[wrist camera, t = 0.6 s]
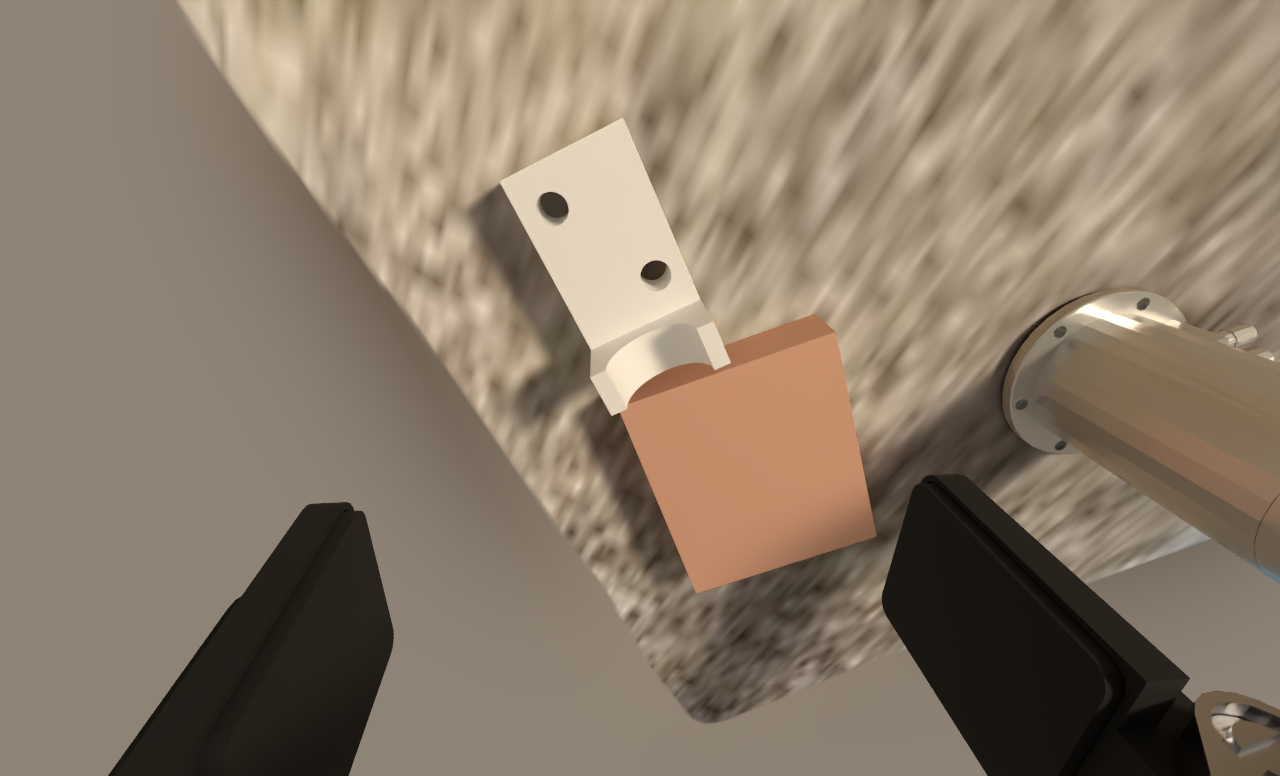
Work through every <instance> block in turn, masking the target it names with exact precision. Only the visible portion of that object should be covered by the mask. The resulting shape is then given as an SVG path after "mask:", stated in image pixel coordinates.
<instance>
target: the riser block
mask: <svg viewBox="0 0 1280 776" xmlns="http://www.w3.org/2000/svg"><path fill="white" fill-rule="evenodd" d="M724 347H725V350H726V352H727V354H728V357H729V359H730V362H731V363H730V364H728V365H725V366H723V367H721V368H718V369H716V370H714V368H713V367H712V366H710V365H708V364H704V363H689V364H684V365H680V366H676V367H673V368H671V369H668V370H666V371H664V372H661V373H660V374H658V375H656V376H654V377H653V378H651V379H649V380H648V381H647V382H645V383H644V384H643V385H641V386H640V387H639V388H638V389H637V390H636V391H635V392H634V394H633V395H632V396H631V398H630V400H629V402H628V405H627V409H626V410H624V411H622V412H620V414H621V416H622V419H623V421H624V424H625V426H626V428H627V431H628V433H629V435H630V438H631V440H632V443H633V445H634V447H635V450H636V452H637V454H638V457H639V459H640V461H641V464H642V466H643V469H644V471H645V473H646V476H647V478H648V480H649V483H650V485H651V488H652V490H653V492H654V495H655V497H656V499H657V502H658V504H659V507H660V509H661V511H662V514H663V516H664V518H665V521H666V523H667V525H668V528H669V530H670V533H671V535H672V537H673V540H674V542H675V544H676V547H677V549H678V552H679V554H680V556H681V559H682V561H683V563H684V566H685V568H686V571H687V573H688V575H689V578H690V580H691V582H692V585H693V587H694V590H695V592H696V594H697V593H700V592H703V591H706V590H709V589H712V588H716V587H719V586H722V585H725V584H728V583H731V582H735V581H738V580H741V579H744V578H747V577H750V576H754V575H757V574H760V573H763V572H766V571H769V570H773V569H776V568H779V567H782V566H785V565H788V564H792V563H795V562H798V561H801V560H804V559H807V558H811V557H814V556H817V555H820V554H823V553H826V552H830V551H833V550H836V549H839V548H842V547H845V546H849V545H852V544H855V543H858V542H861V541H864V540H868V539H871V538H874V537H877V535H876V530H875V525H874V520H873V515H872V510H871V505H870V501H869V496H868V491H867V486H866V481H865V476H864V471H863V466H862V461H861V456H860V451H859V446H858V441H857V436H856V431H855V426H854V421H853V416H852V411H851V406H850V401H849V396H848V391H847V386H846V381H845V377H844V372H843V367H842V362H841V357H840V352H839V347H838V342H837V337H836V332H835V331H834V330H833V329H831V328H830V327H829V326H828V325H827V324H826V323H824V322H823V321H822V320H821V319H820V318H818V317H817V316H816V315H815V314H813V315H810V316H807V317H804V318H802V319H799V320H796V321H793V322H790V323H787V324H784V325H782V326H779V327H776V328H773V329H770V330H767V331H765V332H762V333H759V334H756V335H753V336H750V337H748V338H745V339H742V340H739V341H736V342H733V343H731V344H728V345H725V346H724Z"/></svg>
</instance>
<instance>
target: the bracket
mask: <svg viewBox="0 0 1280 776" xmlns="http://www.w3.org/2000/svg"><path fill="white" fill-rule="evenodd" d="M499 182H500V184H501V185H502V187H503V189H504V191H505V193H506V195H507V196H508V198H509V200H510V202H511V204H512V206H513V207H514V209H515V211H516V213H517V215H518V217H519V218H520V220H521V222H522V224H523V226H524V228H525V230H526V231H527V233H528V235H529V237H530V239H531V241H532V242H533V244H534V246H535V248H536V250H537V252H538V253H539V255H540V257H541V259H542V261H543V263H544V264H545V266H546V268H547V270H548V272H549V274H550V275H551V277H552V279H553V281H554V283H555V285H556V286H557V288H558V290H559V292H560V294H561V296H562V297H563V299H564V301H565V303H566V305H567V307H568V309H569V310H570V312H571V314H572V316H573V318H574V320H575V321H576V323H577V325H578V327H579V329H580V331H581V332H582V334H583V336H584V338H585V340H586V342H587V343H588V345H589V347H590V349H591V364H590V378H591V380H592V382H593V384H594V385H595V387H596V389H597V391H598V393H599V394H600V396H601V398H602V400H603V401H604V403H605V405H606V407H607V409H608V410H609V412H610V414H611V416H613V415H615V414H617V413H619V412H622V411H624V410H626V409H627V405H628V402H629V400H630V398H631V396H632V395H633V394H634V392H635V391H636V390H637V389H638V388H639V387H640V386H641V385H643V384H644V383H645V382H647V381H648V380H649V379H651V378H653V377H654V376H656V375H658V374H660V373H661V372H664V371H666V370H668V369H671V368H673V367H676V366H680V365H684V364H689V363H704V364H708V365H710V366H712V367H713V368H714V370H716V369H718V368H721V367H723V366H725V365H728V364H730V363H731V362H730V359H729V357H728V354H727V352H726V350H725V347H724V345H723V343H722V340H721V338H720V336H719V333H718V331H717V328H716V326H715V324H714V321H713V320H712V318H711V316H710V315H709V313H708V311H707V310H706V308H705V306H704V305H703V303H702V301H701V300H700V298H699V295H698V293H697V290H696V288H695V286H694V283H693V281H692V279H691V276H690V274H689V272H688V269H687V267H686V265H685V262H684V260H683V258H682V255H681V253H680V250H679V248H678V246H677V243H676V241H675V239H674V236H673V234H672V232H671V229H670V227H669V225H668V222H667V220H666V218H665V215H664V213H663V211H662V208H661V206H660V203H659V201H658V199H657V196H656V194H655V192H654V189H653V187H652V185H651V182H650V180H649V178H648V175H647V173H646V171H645V168H644V166H643V163H642V161H641V159H640V156H639V154H638V152H637V149H636V147H635V145H634V142H633V140H632V138H631V135H630V133H629V131H628V128H627V126H626V124H625V121H624V119H623V118H621V119H619V120H617V121H615V122H613V123H612V124H610V125H608V126H606V127H604V128H602V129H600V130H598V131H596V132H594V133H592V134H590V135H588V136H586V137H584V138H583V139H581V140H579V141H577V142H575V143H573V144H571V145H569V146H567V147H565V148H563V149H561V150H559V151H557V152H555V153H554V154H552V155H550V156H548V157H546V158H544V159H542V160H540V161H538V162H536V163H534V164H532V165H530V166H528V167H527V168H525V169H523V170H521V171H519V172H517V173H515V174H513V175H511V176H509V177H507V178H505V179H503V180H501V181H499ZM546 192H556V193H558V194H560V195H561V196H563V197H564V198H565V200H566V201H567V204H568V208H569V212H568V213H567V214H566V215H565V216H563V217H560V218H554V217H551V216H549V215H548V214H546V213H545V211H544V210H543V208H542V205H541V197H542V194H544V193H546ZM654 260H659V261H662V262H664V263H666V270H665V272H664V274H663V275H662V276H661V277H660V278H658V279H656V280H647V279H645V278H643V277H642V276H641V275H640V274H641V270H642V268H643V267H644V266H645V265H646V264H647V263H648V262H650V261H654Z"/></svg>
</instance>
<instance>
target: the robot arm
mask: <svg viewBox="0 0 1280 776" xmlns="http://www.w3.org/2000/svg"><path fill="white" fill-rule="evenodd" d="M1256 338H1257V331H1256V330H1255V328H1254V327H1253V326H1252V325H1250V324H1248V323H1240V324H1237V325H1233V326H1230V327H1227V328H1224V329H1222V330H1220V331H1218V332H1216V333H1212V332H1209V331H1206V330H1203V329H1200V328H1197V327H1194V326H1191V325H1188V324H1187V322H1186V319H1185V317H1184V315H1183V314H1182V313H1181V311H1180V310H1179V308H1178V307H1177V306H1176V305H1174V304H1173V303H1172V302H1171V301H1169V300H1168V299H1167V298H1164V297H1162V296H1159V295H1157V294H1154V293H1151V292H1147V291H1143V290H1139V289H1135V288H1114V289H1108V290H1102V291H1098V292H1095V293H1092V294H1089V295H1086V296H1083V297H1081V298H1079V299H1077V300H1075V301H1073V302H1071V303H1069V304H1067V305H1065V306H1064V307H1062V308H1061V309H1059V310H1058V311H1057V312H1055V313H1054V314H1052V315H1051V316H1050V317H1048V318H1047V319H1046V320H1045V321H1044V322H1043V323H1042V324H1040V325H1039V326H1038V327H1037V328H1036V329H1035V330H1034V331H1033V332H1032V333H1031V335H1030V336H1029V337H1028V338H1027V339H1026V341H1025V342H1024V343H1023V344H1022V346H1021V347H1020V349H1019V350H1018V352H1017V354H1016V355H1015V357H1014V359H1013V360H1012V362H1011V365H1010V367H1009V370H1008V372H1007V374H1006V377H1005V382H1004V386H1003V391H1002V406H1003V410H1004V415H1005V419H1006V420H1007V422H1008V424H1009V426H1010V428H1011V429H1012V430H1013V431H1014V432H1015V433H1016V434H1017V435H1018V436H1019V437H1020V438H1021V439H1022V440H1024V441H1025V442H1027V443H1028V444H1030V445H1031V446H1032V447H1035V448H1037V449H1039V450H1042V451H1044V452H1048V453H1053V454H1077V453H1083V454H1084V455H1086V456H1087V457H1089V458H1090V459H1092V460H1093V461H1095V462H1096V463H1098V464H1099V465H1101V466H1102V467H1104V468H1105V469H1107V470H1108V471H1110V472H1111V473H1113V474H1114V475H1116V476H1117V477H1119V478H1120V479H1122V480H1123V481H1125V482H1126V483H1128V484H1129V485H1131V486H1132V487H1134V488H1135V489H1137V490H1138V491H1140V492H1141V493H1143V494H1145V495H1146V496H1148V497H1149V498H1151V499H1152V500H1154V501H1155V502H1157V503H1158V504H1160V505H1161V506H1163V507H1164V508H1166V509H1167V510H1169V511H1170V512H1172V513H1173V514H1175V515H1176V516H1178V517H1179V518H1181V519H1182V520H1184V521H1185V522H1187V523H1188V524H1190V525H1191V526H1193V527H1194V528H1196V529H1197V530H1199V531H1200V532H1202V533H1203V534H1205V535H1206V536H1208V537H1209V538H1211V539H1212V540H1214V541H1215V542H1217V543H1218V544H1220V545H1222V546H1223V547H1224V548H1226V549H1227V550H1229V551H1231V552H1232V553H1234V554H1235V555H1236V556H1238V557H1240V558H1241V559H1243V560H1244V561H1246V562H1247V563H1249V564H1250V565H1252V566H1253V567H1255V568H1256V569H1258V570H1259V571H1261V572H1262V573H1264V574H1265V575H1267V576H1269V577H1270V578H1272V579H1273V580H1275V581H1276V582H1278V583H1279V584H1280V363H1279V362H1276V361H1275V360H1274V357H1273V356H1272V355H1271V353H1270V352H1269V351H1268V350H1266V349H1264V348H1262V347H1256V346H1253V347H1250V348H1247V349H1244V350H1241V349H1238V348H1235V347H1238V346H1241V345H1244V344H1247V343H1250V342H1252V341H1255V340H1256ZM882 605H883V609H884V612H885V614H886V616H887V618H888V619H889V621H890V623H891V624H892V626H893V627H894V629H895V630H896V632H897V634H898V635H899V637H900V638H901V640H902V641H903V643H904V645H905V646H906V648H907V649H908V651H909V652H910V654H911V656H912V657H913V659H914V660H915V662H916V663H917V665H918V667H919V668H920V670H921V671H922V673H923V675H924V676H925V678H926V679H927V681H928V682H929V684H930V686H931V687H932V688H933V690H934V692H935V693H936V695H937V697H938V698H939V700H940V701H941V703H942V705H943V706H944V708H945V709H946V711H947V712H948V714H949V716H950V717H951V718H952V720H953V722H954V723H955V725H956V726H957V728H958V730H959V731H960V733H961V734H962V736H963V738H964V739H965V741H966V742H967V744H968V745H969V747H970V749H971V750H972V752H973V753H974V755H975V756H976V758H977V760H978V761H979V763H980V764H981V766H982V768H983V769H984V771H985V772H986V774H987V776H1280V710H1279V709H1277V708H1275V707H1272V706H1270V705H1268V704H1266V703H1264V702H1262V701H1259V700H1256V699H1254V698H1250V697H1247V696H1244V695H1240V694H1238V693H1232V692H1224V691H1212V692H1207V693H1202V694H1201V695H1200V696H1199V697H1198V699H1197V700H1196V701H1195V702H1194V703H1193V702H1192V701H1191V700H1190V699H1189V698H1188V697H1187V696H1185V695H1184V694H1183V693H1182V692H1181V691H1182V689H1183V688H1184V686H1185V685H1186V684H1187V682H1188V681H1189V679H1190V678H1189V677H1188V676H1187V675H1186V674H1185V673H1184V672H1182V671H1181V670H1180V669H1179V668H1178V667H1177V666H1176V665H1175V664H1174V663H1173V662H1171V661H1170V660H1169V659H1168V658H1167V657H1166V656H1165V655H1164V654H1163V653H1161V652H1160V651H1159V650H1158V649H1157V648H1156V647H1155V646H1154V645H1152V644H1151V643H1150V642H1149V641H1148V640H1147V639H1146V638H1145V637H1144V636H1142V635H1141V634H1140V633H1139V632H1138V631H1137V630H1136V629H1135V628H1134V627H1133V626H1131V625H1130V624H1129V623H1128V622H1127V621H1126V620H1125V619H1124V618H1122V617H1121V616H1120V615H1119V614H1118V613H1117V612H1116V611H1115V610H1114V609H1113V608H1111V607H1110V606H1109V605H1108V604H1107V603H1106V602H1105V601H1104V600H1102V599H1101V598H1100V597H1099V596H1098V595H1097V594H1096V593H1095V592H1094V591H1093V590H1091V589H1090V588H1089V587H1088V586H1087V585H1086V584H1085V583H1084V582H1083V581H1081V580H1080V579H1079V578H1078V577H1077V576H1076V575H1075V574H1074V573H1073V572H1071V571H1070V570H1069V569H1068V568H1067V567H1066V566H1065V565H1064V564H1063V563H1061V562H1060V561H1059V560H1058V559H1057V558H1056V557H1055V556H1054V555H1053V554H1051V553H1050V552H1049V551H1048V550H1047V549H1046V548H1045V547H1044V546H1043V545H1041V544H1040V543H1039V542H1038V541H1037V540H1036V539H1035V538H1034V537H1033V536H1031V535H1030V534H1029V533H1028V532H1027V531H1026V530H1025V529H1024V528H1023V527H1021V526H1020V525H1019V524H1018V523H1017V522H1016V521H1015V520H1014V519H1013V518H1011V517H1010V516H1009V515H1008V514H1007V513H1006V512H1005V511H1004V510H1003V509H1001V508H1000V507H999V506H998V505H997V504H996V503H995V502H994V501H993V500H991V499H990V498H989V497H988V496H987V495H986V494H985V493H984V492H983V491H981V490H980V489H979V488H978V487H977V486H976V485H975V484H974V483H973V482H971V481H970V480H969V479H968V478H967V477H965V476H964V475H960V474H946V475H929V476H926V477H924V478H923V479H922V481H921V483H920V484H918V485H916V486H915V487H914V489H913V491H912V494H911V497H910V501H909V504H908V508H907V511H906V514H905V518H904V521H903V525H902V528H901V532H900V535H899V538H898V542H897V545H896V549H895V552H894V555H893V559H892V562H891V566H890V569H889V573H888V576H887V579H886V583H885V586H884V590H883V593H882ZM393 635H394V633H393V626H392V622H391V618H390V614H389V610H388V606H387V602H386V598H385V594H384V590H383V585H382V581H381V578H380V573H379V569H378V565H377V561H376V557H375V553H374V549H373V545H372V541H371V537H370V532H369V528H368V524H367V520H366V517H365V514H364V513H363V512H362V511H354V509H353V506H352V505H351V504H350V503H347V502H340V503H320V504H309V505H307V506H306V507H305V508H304V509H303V510H302V512H301V513H300V514H299V516H298V517H297V519H296V520H295V521H294V523H293V524H292V526H291V527H290V529H289V530H288V531H287V533H286V534H285V536H284V537H283V538H282V540H281V541H280V543H279V544H278V545H277V547H276V549H275V550H274V551H273V553H272V554H271V555H270V557H269V558H268V560H267V561H266V563H265V564H264V565H263V567H262V568H261V570H260V571H259V572H258V574H257V575H256V577H255V578H254V579H253V581H252V582H251V584H250V585H249V587H248V588H247V589H246V591H245V592H244V594H243V595H242V596H241V597H240V598H238V599H236V600H235V601H234V603H233V604H232V605H231V606H230V607H229V608H228V609H227V611H226V612H225V613H224V615H223V616H222V618H221V619H220V621H219V622H218V623H217V625H216V626H215V627H214V629H213V630H212V632H211V633H210V634H209V636H208V637H207V638H206V640H205V641H204V643H203V644H202V645H201V647H200V648H199V650H198V651H197V653H196V654H195V655H194V657H193V658H192V660H191V661H190V662H189V664H188V665H187V667H186V668H185V669H184V671H183V672H182V673H181V675H180V676H179V678H178V679H177V680H176V682H175V683H174V685H173V686H172V687H171V689H170V690H169V692H168V693H167V694H166V696H165V697H164V698H163V700H162V701H161V703H160V704H159V706H158V707H157V708H156V710H155V711H154V713H153V714H152V715H151V717H150V718H149V719H148V721H147V722H146V724H145V725H144V726H143V728H142V729H141V731H140V732H139V733H138V735H137V736H136V738H135V739H134V740H133V742H132V743H131V745H130V746H129V747H128V749H127V750H126V751H125V753H124V754H123V756H122V757H121V759H120V760H119V761H118V763H117V764H116V766H115V767H114V768H113V770H112V771H111V772H110V774H109V775H108V776H349V773H350V770H351V767H352V764H353V761H354V758H355V755H356V753H357V750H358V747H359V744H360V741H361V738H362V735H363V732H364V730H365V727H366V723H367V721H368V718H369V715H370V712H371V709H372V707H373V704H374V701H375V698H376V695H377V692H378V689H379V686H380V684H381V681H382V677H383V675H384V672H385V669H386V666H387V663H388V661H389V658H390V655H391V651H392V647H393V638H394V637H393Z"/></svg>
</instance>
